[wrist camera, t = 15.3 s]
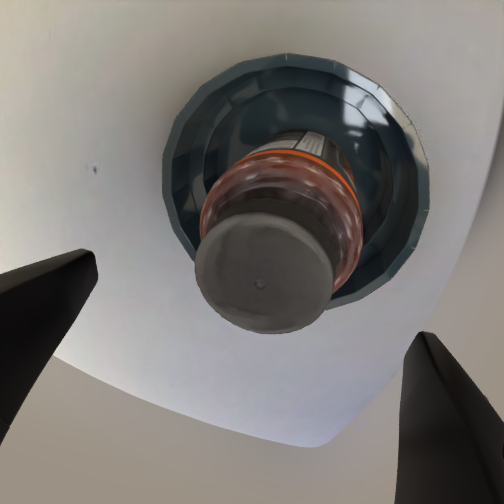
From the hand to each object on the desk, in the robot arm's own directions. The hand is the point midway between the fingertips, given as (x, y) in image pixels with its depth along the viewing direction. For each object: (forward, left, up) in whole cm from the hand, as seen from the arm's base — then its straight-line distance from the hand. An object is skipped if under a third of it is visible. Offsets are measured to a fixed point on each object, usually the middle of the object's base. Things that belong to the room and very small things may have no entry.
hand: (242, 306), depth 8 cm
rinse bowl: (0, 0, -13) cm, 13 cm away
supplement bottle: (0, 0, -13) cm, 13 cm away
